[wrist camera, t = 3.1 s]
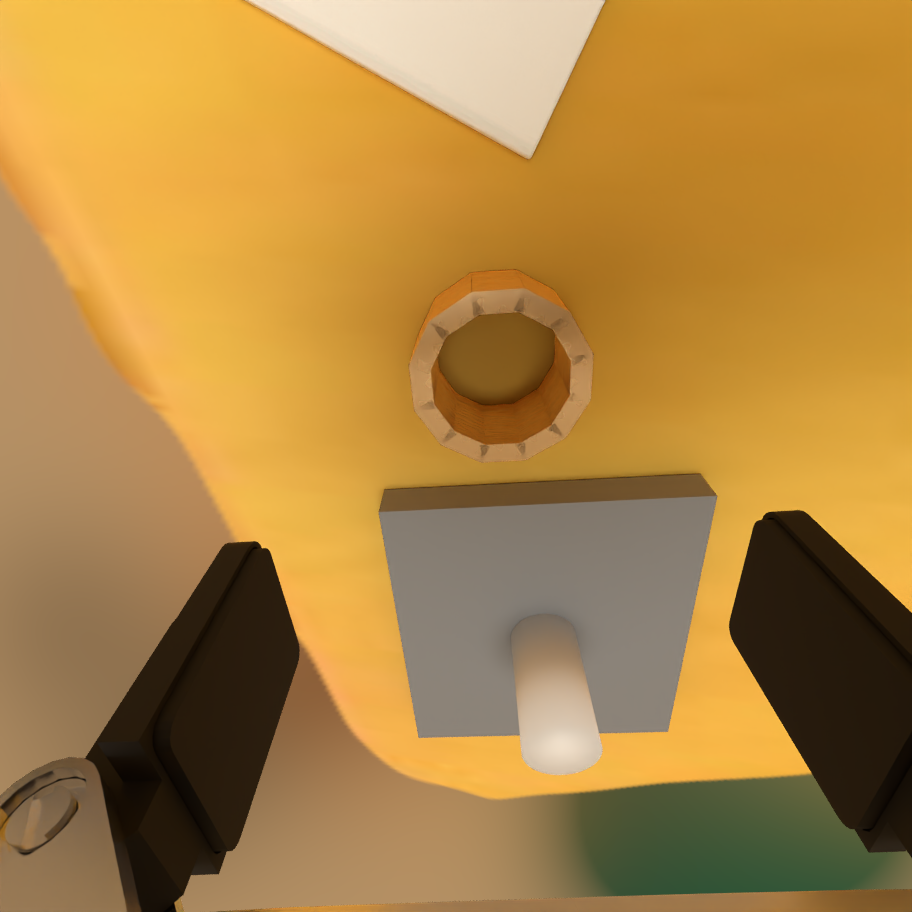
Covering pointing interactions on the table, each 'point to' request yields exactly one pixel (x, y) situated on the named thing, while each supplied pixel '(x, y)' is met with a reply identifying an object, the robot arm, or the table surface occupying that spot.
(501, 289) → the bronze ring
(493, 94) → the external hard drive
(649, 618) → the piston stand
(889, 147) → the table surface
